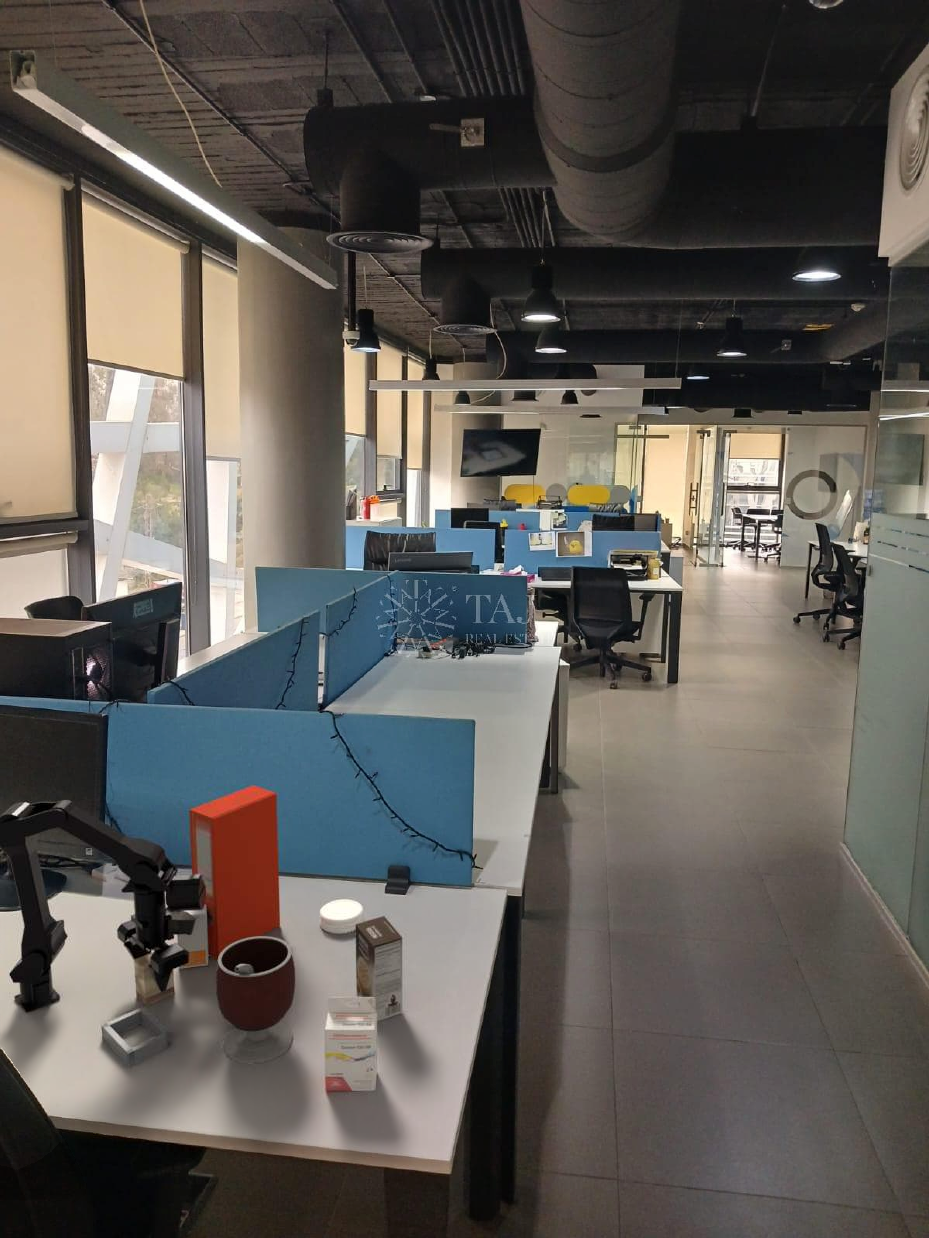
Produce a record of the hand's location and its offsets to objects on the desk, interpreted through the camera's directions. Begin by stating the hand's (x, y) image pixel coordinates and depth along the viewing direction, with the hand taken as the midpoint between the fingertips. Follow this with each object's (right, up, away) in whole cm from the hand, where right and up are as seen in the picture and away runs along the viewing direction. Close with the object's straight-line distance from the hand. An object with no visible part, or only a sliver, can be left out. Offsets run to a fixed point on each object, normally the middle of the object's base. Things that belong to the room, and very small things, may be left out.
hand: (154, 982), depth 172 cm
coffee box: (+45, -4, -3) cm, 45 cm away
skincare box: (+4, -1, +12) cm, 12 cm away
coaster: (+33, +2, +28) cm, 43 cm away
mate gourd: (+23, -5, -14) cm, 28 cm away
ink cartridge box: (+42, -7, -23) cm, 49 cm away
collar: (+2, -5, -13) cm, 14 cm away
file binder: (+11, +1, +21) cm, 24 cm away
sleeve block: (0, -3, 0) cm, 3 cm away
